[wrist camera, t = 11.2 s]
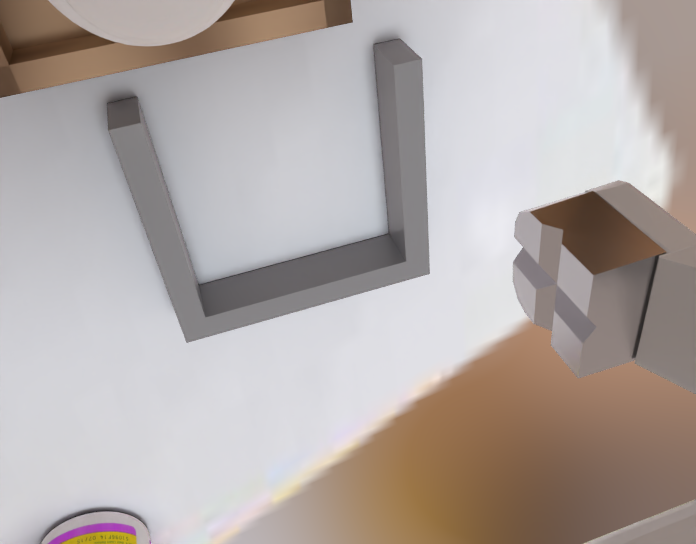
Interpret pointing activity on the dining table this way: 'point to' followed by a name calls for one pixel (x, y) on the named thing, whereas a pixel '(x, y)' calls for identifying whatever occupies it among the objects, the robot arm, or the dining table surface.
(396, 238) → the charcoal bay
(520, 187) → the dining table surface
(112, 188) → the dining table surface
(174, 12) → the supplement bottle
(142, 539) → the supplement bottle
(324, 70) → the dining table surface
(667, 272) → the robot arm
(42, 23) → the walnut tray
